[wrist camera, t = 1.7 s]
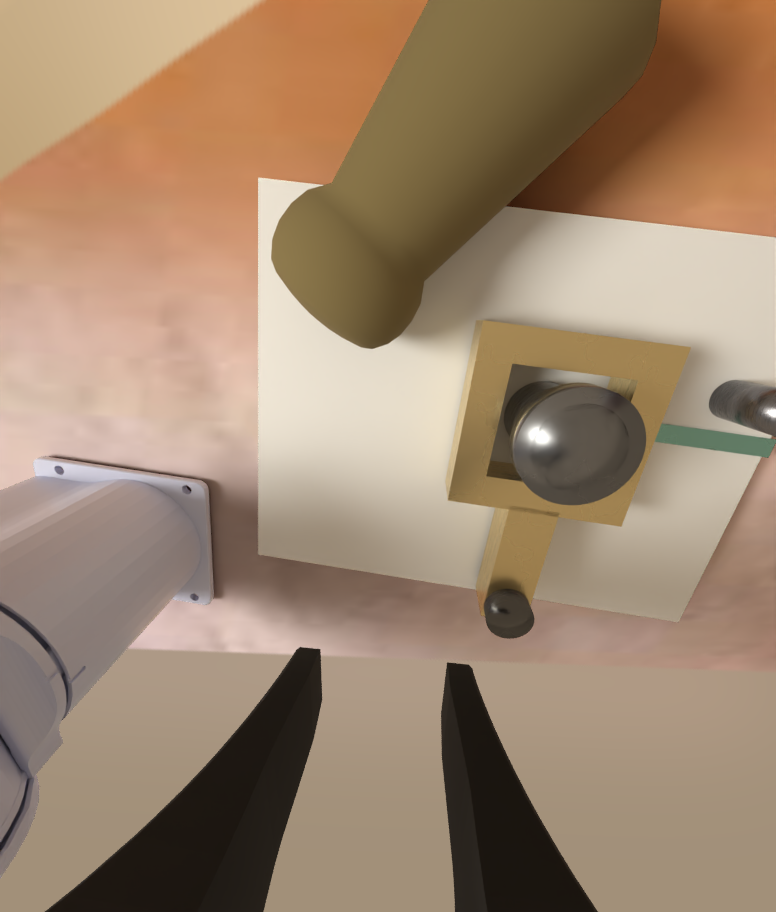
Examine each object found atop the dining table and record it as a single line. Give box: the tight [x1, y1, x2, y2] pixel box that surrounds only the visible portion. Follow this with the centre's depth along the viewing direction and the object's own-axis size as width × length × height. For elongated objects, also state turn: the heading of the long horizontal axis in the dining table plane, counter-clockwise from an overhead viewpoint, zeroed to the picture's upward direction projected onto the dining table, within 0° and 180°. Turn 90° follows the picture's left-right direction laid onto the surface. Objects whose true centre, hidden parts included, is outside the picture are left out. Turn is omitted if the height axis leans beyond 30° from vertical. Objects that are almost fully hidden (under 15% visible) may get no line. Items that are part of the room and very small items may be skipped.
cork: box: [271, 0, 661, 349], centre depth 12 cm, size 6×6×11 cm
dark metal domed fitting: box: [504, 380, 776, 505], centre depth 15 cm, size 12×12×4 cm
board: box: [258, 178, 776, 622], centre depth 17 cm, size 22×17×1 cm
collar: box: [445, 320, 691, 638], centre depth 16 cm, size 13×7×3 cm, turn 173°
